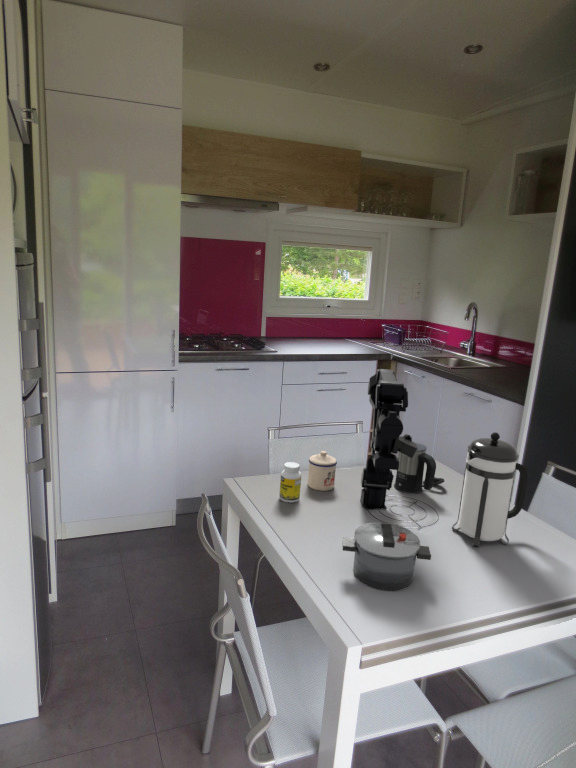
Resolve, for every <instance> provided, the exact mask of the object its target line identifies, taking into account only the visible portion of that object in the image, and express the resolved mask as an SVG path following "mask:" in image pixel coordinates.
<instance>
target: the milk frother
mask: <svg viewBox="0 0 576 768" xmlns="http://www.w3.org/2000/svg"><path fill="white" fill-rule="evenodd" d="M413 442H414V443H415V444H416V445H417V447H418V449H417V451H416V453H415V455H414V457H413V458H410V457H408V456H407V455H405V454H403V453H400V452H399V451H398V453H397V455H398V456H397V458H398V460H399V469H398V470H396V474H395V475H396V476H395V481H394V484H393V487H394V488H395V489H396V490H398V491H400V492H403V493H406V494H407V493H408V494H417V493H421V492H423V490H426V491H429V490H431V489H432V488H433V487H434V486H438V485H441V484H443V483H444V482H445V479H444V478H442V477H436V476H435V475H436V470H437V463H436V460H435V458H434V457H433V456H431V454H428V453H426V451H427V449H428V447H427V446H426V445H424V444H423V443H421V442H419V443H418V442H415V441H413ZM425 465H426V470H425ZM424 470H425V471H424ZM424 472H425V475H424ZM423 478H424V479H423Z"/></svg>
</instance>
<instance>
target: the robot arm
mask: <svg viewBox="0 0 576 768" xmlns="http://www.w3.org/2000/svg"><path fill="white" fill-rule="evenodd" d="M367 395H369V399H368V401H369V403H370V406H371V408H372V409H373V414H372V415H373V418H372V419H373V420H372V433H371V434H372V435H371V436H372V437H371V439H370V448H371V453H370V456H369V458H368V459H367V460H366V462H365V465H364V467H363V468H362V472H361V477H360V478H361V479H360V483H361V484H360V486H361V488H362V489H361V494H360V499H359V501H360V503H361V504H362V505H363V507H364V509H365V510H387V506H386V498H387V491H390V490H391V489H392V487H393V481H394V476H395V475H394V474H393V470H394V471H397V470H398V469H399V460H398V456H397V455H398V452H400V453H403V454H405V455H407V456H408V457H410V458H413V457H414V455H415V453H416V451H417V449H418V447H417V445H416V444H415V443H414V442H415V441H413V437H412V435H410V434H408V433H406V434H404V435H403V436H401V435H402V433H403V431H404V424H403V422H402V419H401V417H400V414H401V413H400V412H404V413H405V412H406V411H407V408H408V407H409V392H408V390H407V387H406V386H405V384H404V383H403V382H402V381H398V380H397V378H396V377H395V370H393V369H386V368H385V369H384V368H379V369H376V373H375V374H373V375H372V376H370V378H369V381H368V385H367Z"/></svg>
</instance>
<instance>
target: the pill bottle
mask: <svg viewBox="0 0 576 768" xmlns="http://www.w3.org/2000/svg"><path fill="white" fill-rule="evenodd" d="M300 467H301V466H300V464H299V463H297V462H293V461H287V462H285V463H284V465H283V470H282V471H281V472H280V485H279V499H280V501H282V502H283V503H284V502H285V503H288V502H289V504H290V503H296V502H298V501H299V500H300V496H301V487H302V486H301V485H302V483H301V482H302V472H301V471H300V470H301V469H300Z"/></svg>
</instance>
